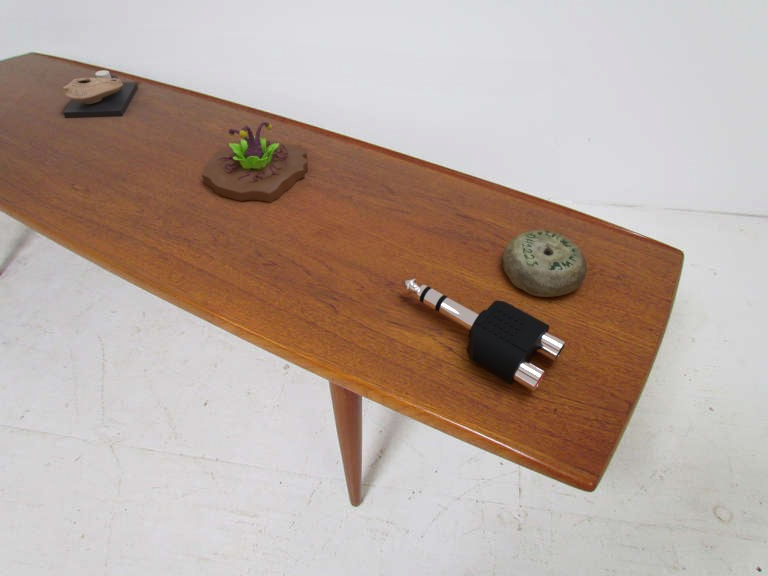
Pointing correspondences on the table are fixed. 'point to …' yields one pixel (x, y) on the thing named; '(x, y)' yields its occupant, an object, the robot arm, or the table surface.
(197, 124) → the table surface
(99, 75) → the button
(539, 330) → the audio adapter
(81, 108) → the scale
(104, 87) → the pottery oil lamp
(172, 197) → the table surface
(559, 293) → the weight
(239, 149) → the plant
